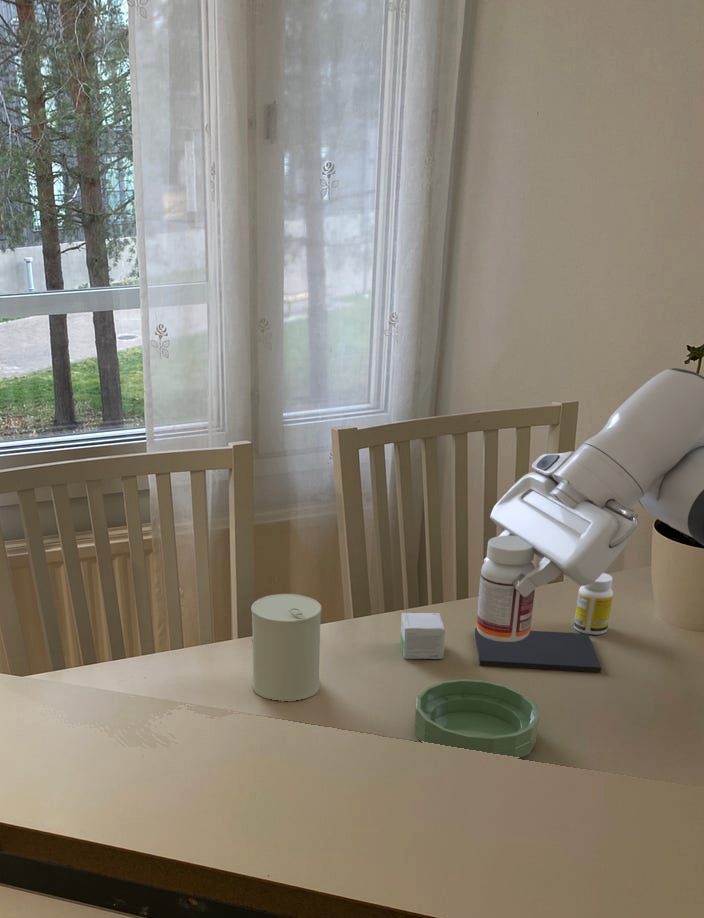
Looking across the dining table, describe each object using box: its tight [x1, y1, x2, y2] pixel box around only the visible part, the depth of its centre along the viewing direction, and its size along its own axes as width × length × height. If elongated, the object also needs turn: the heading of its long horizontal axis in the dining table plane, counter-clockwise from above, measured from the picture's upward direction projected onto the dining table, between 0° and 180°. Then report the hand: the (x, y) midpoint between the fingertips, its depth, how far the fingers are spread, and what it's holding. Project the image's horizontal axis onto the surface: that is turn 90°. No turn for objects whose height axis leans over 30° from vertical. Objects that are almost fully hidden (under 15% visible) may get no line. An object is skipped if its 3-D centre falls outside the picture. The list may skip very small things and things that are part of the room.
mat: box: [474, 627, 603, 673], centre depth 130 cm, size 16×11×1 cm
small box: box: [399, 612, 446, 660], centre depth 130 cm, size 6×6×5 cm
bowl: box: [414, 678, 540, 758], centre depth 109 cm, size 14×14×4 cm
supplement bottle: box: [573, 572, 614, 636], centre depth 135 cm, size 5×5×8 cm
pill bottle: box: [476, 535, 537, 642], centre depth 106 cm, size 6×6×11 cm
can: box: [250, 593, 323, 702], centre depth 120 cm, size 9×9×12 cm
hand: (502, 579), depth 105 cm, fingers closed on pill bottle, 6 cm apart
